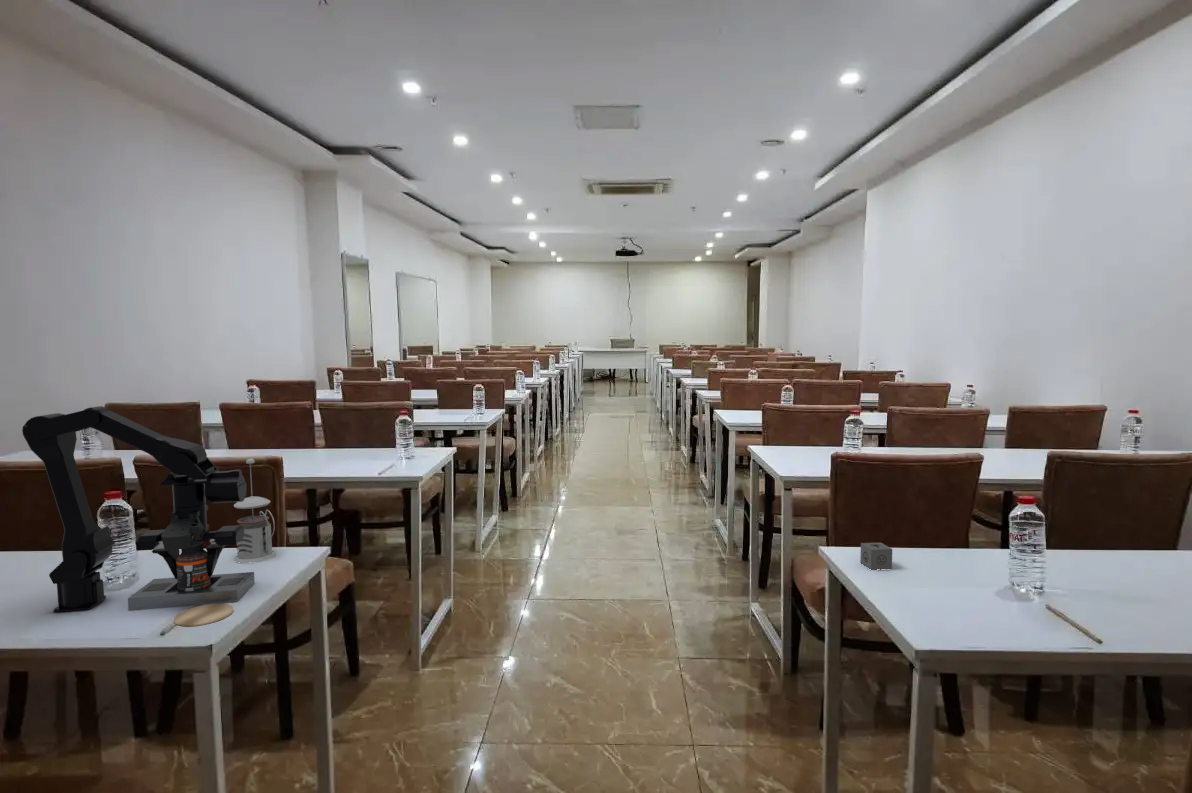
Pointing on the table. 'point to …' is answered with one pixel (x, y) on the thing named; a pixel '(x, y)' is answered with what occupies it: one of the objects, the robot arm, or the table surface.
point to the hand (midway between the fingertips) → (194, 577)
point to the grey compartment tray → (191, 592)
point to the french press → (254, 530)
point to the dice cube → (876, 556)
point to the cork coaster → (203, 614)
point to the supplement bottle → (193, 568)
